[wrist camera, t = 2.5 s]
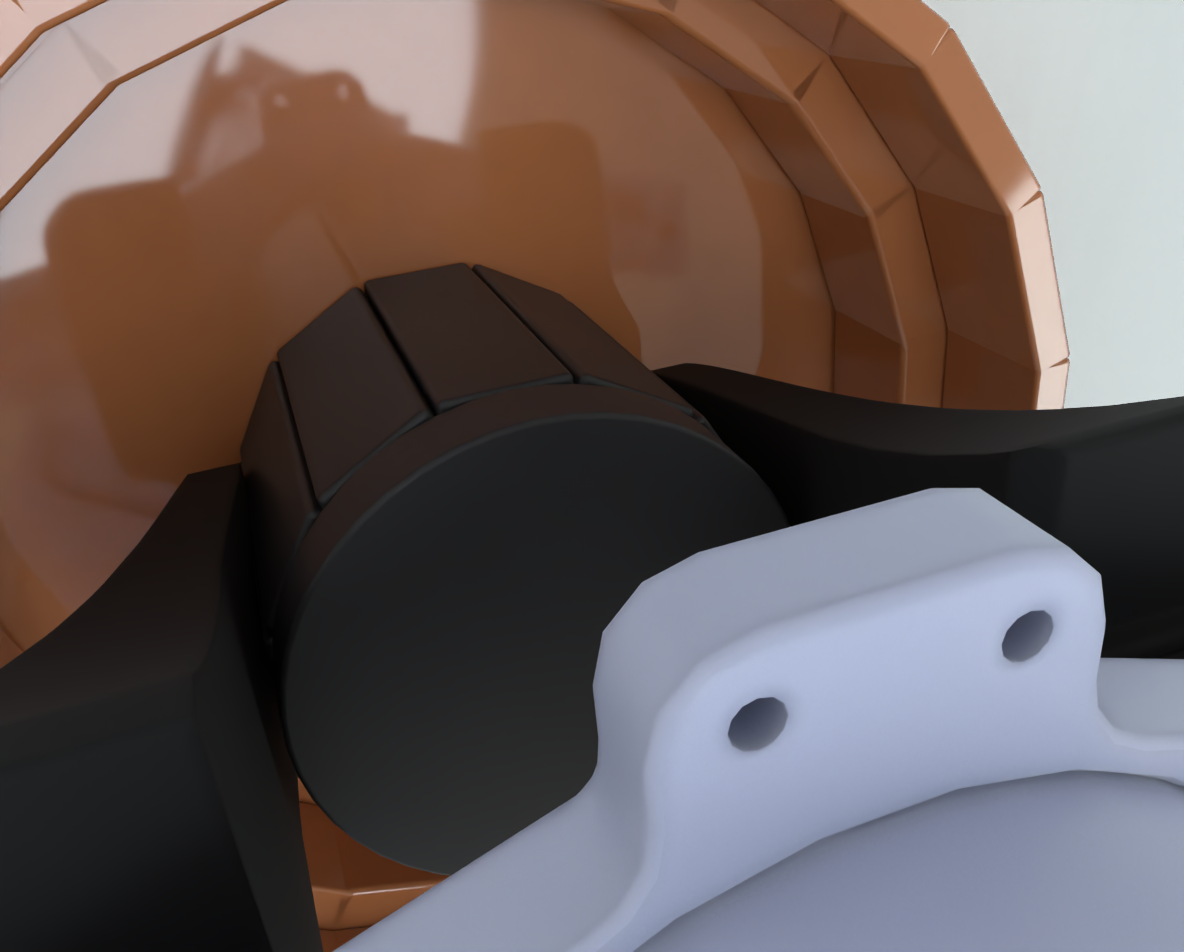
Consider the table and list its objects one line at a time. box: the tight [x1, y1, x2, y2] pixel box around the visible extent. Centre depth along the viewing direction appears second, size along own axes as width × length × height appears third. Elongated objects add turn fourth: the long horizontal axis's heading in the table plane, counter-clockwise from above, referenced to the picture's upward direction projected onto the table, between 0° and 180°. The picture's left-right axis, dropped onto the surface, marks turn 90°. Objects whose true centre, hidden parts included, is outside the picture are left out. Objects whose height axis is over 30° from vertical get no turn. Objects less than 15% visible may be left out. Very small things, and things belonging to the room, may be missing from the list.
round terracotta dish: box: [0, 0, 1070, 952], centre depth 13 cm, size 14×14×4 cm
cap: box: [240, 263, 790, 876], centre depth 12 cm, size 5×5×5 cm
